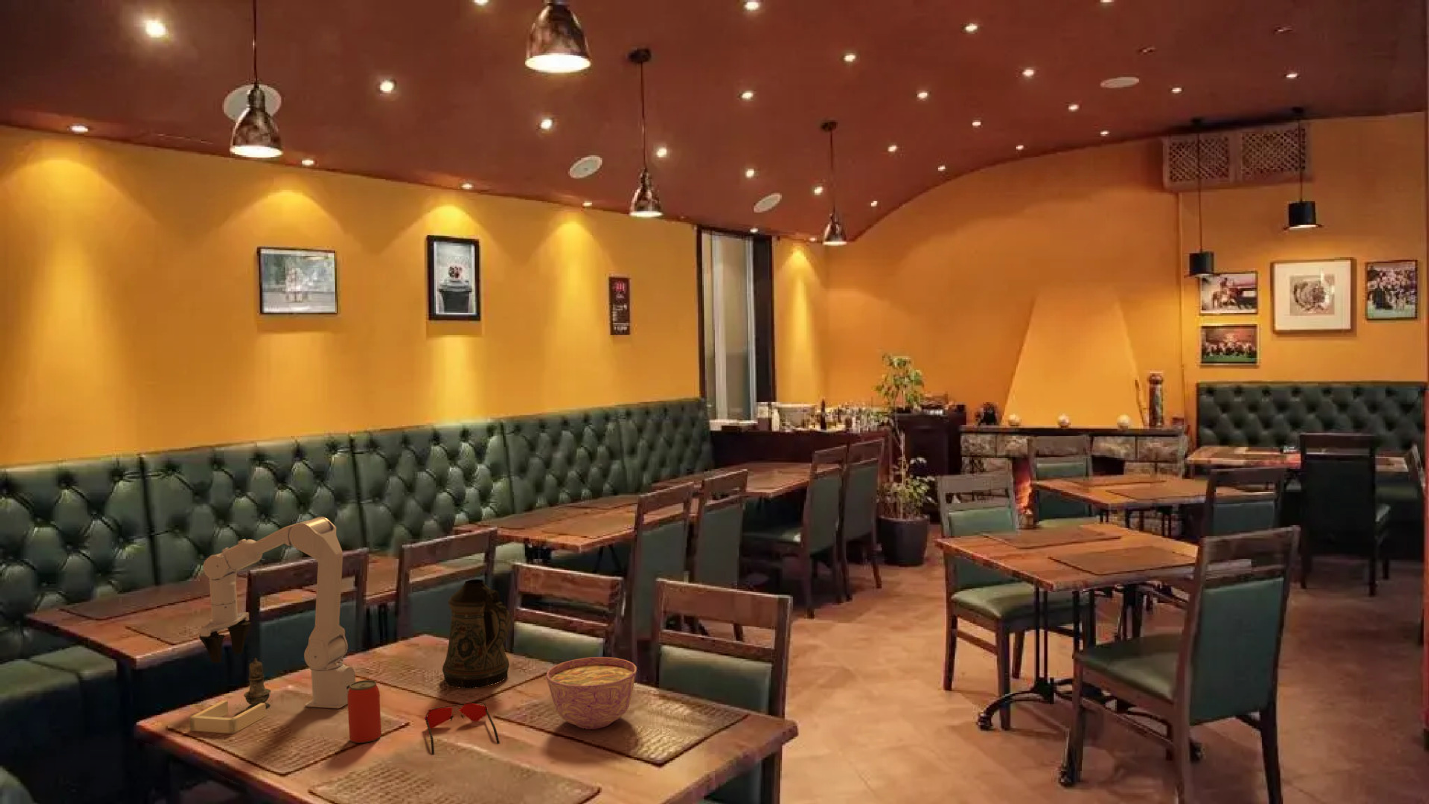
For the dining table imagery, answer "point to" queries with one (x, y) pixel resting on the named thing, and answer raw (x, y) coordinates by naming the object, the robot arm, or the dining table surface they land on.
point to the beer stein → (476, 637)
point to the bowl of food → (592, 690)
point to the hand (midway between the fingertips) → (227, 657)
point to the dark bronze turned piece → (257, 686)
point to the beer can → (364, 711)
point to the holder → (215, 722)
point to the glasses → (444, 714)
